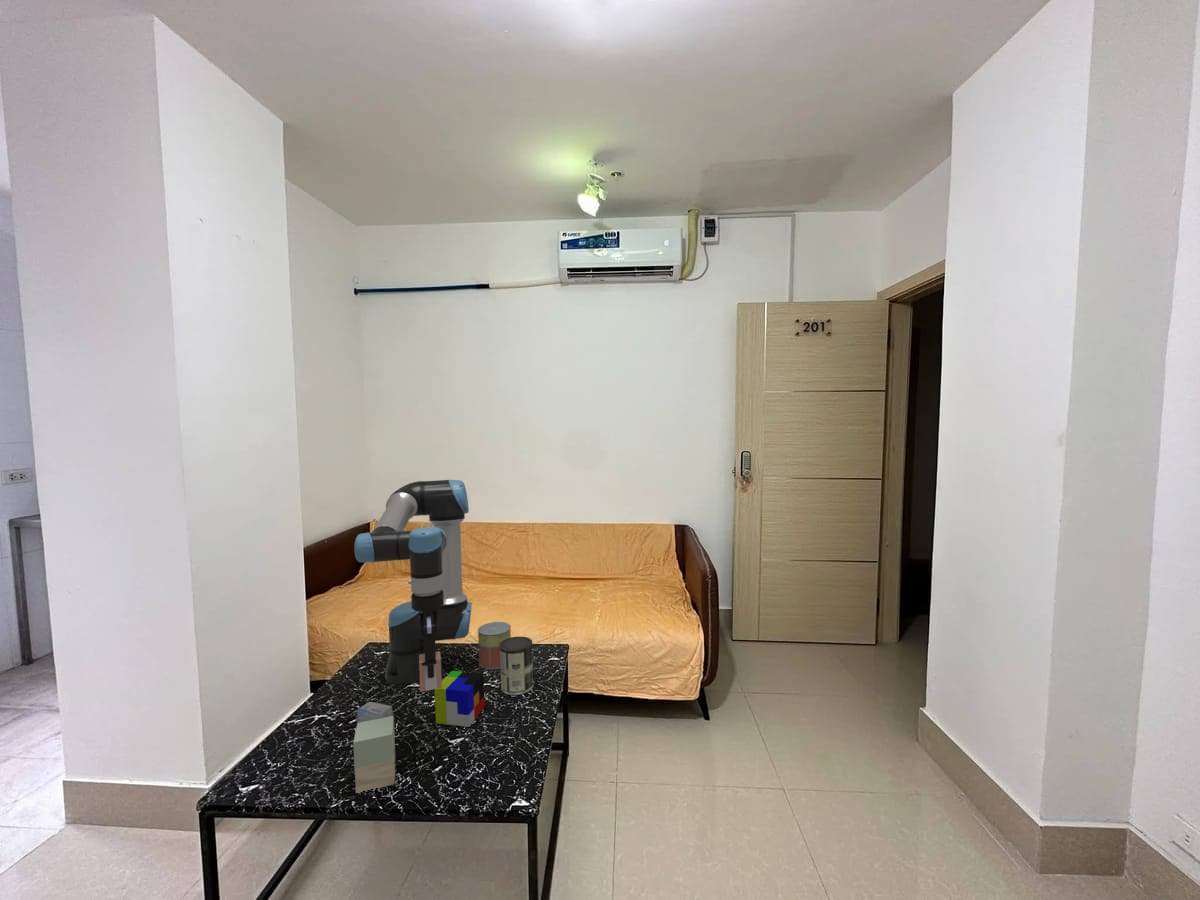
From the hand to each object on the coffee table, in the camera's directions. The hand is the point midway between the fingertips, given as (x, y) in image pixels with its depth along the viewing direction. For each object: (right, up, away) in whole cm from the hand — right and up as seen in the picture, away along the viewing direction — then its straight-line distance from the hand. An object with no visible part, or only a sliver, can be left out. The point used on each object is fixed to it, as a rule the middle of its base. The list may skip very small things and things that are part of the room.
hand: (430, 683), depth 123 cm
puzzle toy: (+2, -18, +19) cm, 26 cm away
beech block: (-11, -19, -7) cm, 23 cm away
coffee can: (+16, -17, +33) cm, 41 cm away
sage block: (-11, -13, -7) cm, 18 cm away
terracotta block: (0, 0, 0) cm, 0 cm away
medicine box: (-17, -19, +8) cm, 27 cm away
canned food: (+5, -17, +51) cm, 54 cm away
